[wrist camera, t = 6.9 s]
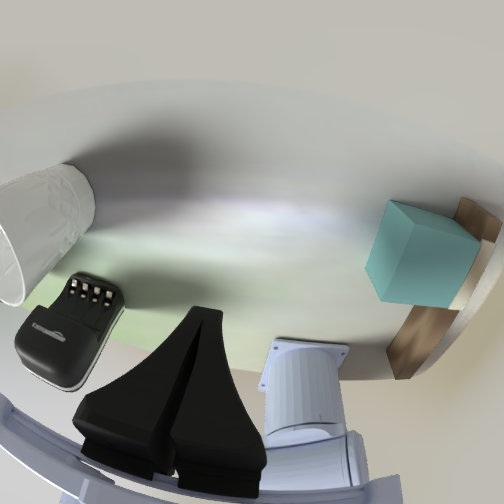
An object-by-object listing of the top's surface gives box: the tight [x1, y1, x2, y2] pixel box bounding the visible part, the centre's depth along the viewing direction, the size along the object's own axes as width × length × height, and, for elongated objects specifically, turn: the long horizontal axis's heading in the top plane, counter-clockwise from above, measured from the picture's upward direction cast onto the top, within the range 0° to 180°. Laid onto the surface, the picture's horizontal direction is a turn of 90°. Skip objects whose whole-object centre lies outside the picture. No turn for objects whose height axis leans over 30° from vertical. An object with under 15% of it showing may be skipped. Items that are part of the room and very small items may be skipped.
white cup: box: [0, 164, 96, 307], centre depth 15 cm, size 8×8×10 cm
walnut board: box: [386, 198, 503, 380], centre depth 20 cm, size 18×2×4 cm, turn 172°
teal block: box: [365, 200, 481, 308], centre depth 18 cm, size 6×7×4 cm
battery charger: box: [14, 274, 125, 392], centre depth 19 cm, size 7×4×11 cm, turn 77°
